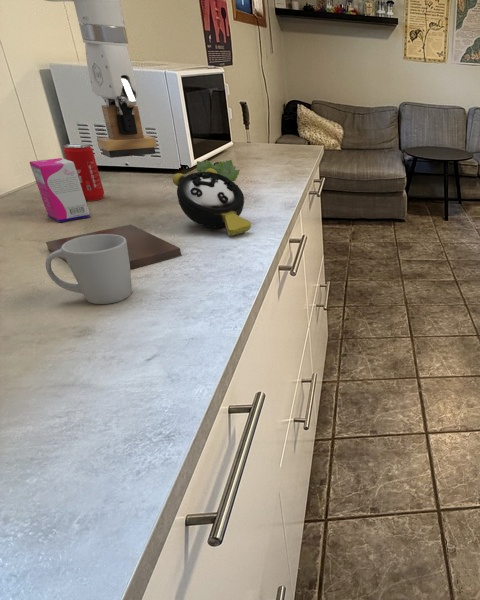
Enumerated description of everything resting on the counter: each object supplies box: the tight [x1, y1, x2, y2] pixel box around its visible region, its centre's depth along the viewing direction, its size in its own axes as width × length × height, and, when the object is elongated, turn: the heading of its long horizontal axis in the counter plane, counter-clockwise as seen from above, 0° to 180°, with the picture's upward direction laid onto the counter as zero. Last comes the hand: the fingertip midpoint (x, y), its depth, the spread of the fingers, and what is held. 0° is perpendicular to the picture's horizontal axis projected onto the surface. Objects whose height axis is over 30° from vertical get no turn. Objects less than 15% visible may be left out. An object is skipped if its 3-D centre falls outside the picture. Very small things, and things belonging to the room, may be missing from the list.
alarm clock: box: [172, 168, 252, 236], centre depth 97 cm, size 12×15×15 cm
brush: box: [96, 104, 158, 159], centre depth 101 cm, size 10×4×10 cm, turn 145°
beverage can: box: [63, 143, 105, 202], centre depth 108 cm, size 5×5×12 cm
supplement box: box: [29, 157, 91, 223], centre depth 96 cm, size 6×6×12 cm
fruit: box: [195, 159, 241, 187], centre depth 115 cm, size 10×11×15 cm
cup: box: [45, 234, 133, 305], centre depth 68 cm, size 8×10×8 cm
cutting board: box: [45, 224, 182, 270], centre depth 84 cm, size 14×18×2 cm
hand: (125, 132), depth 102 cm, fingers closed on brush, 2 cm apart
